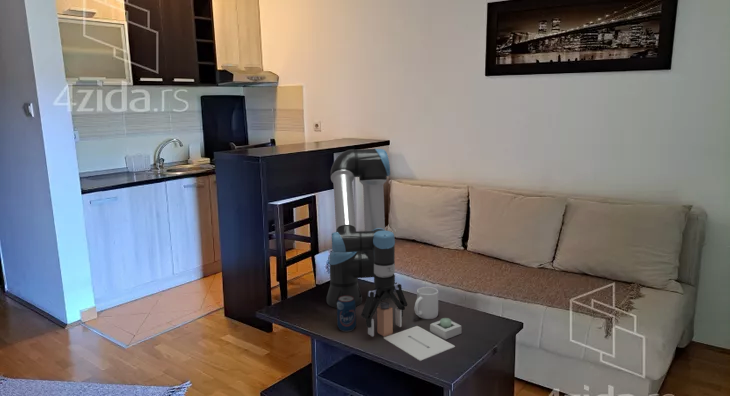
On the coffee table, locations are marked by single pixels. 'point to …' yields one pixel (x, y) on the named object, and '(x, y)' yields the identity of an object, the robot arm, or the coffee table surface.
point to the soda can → (346, 313)
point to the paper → (419, 343)
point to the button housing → (445, 330)
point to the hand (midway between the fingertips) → (385, 330)
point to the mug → (427, 303)
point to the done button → (445, 323)
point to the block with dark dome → (385, 319)
